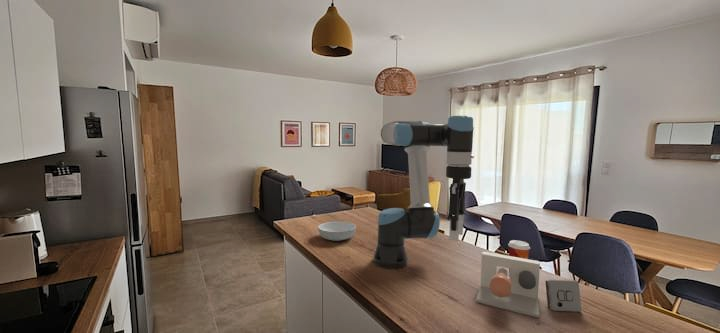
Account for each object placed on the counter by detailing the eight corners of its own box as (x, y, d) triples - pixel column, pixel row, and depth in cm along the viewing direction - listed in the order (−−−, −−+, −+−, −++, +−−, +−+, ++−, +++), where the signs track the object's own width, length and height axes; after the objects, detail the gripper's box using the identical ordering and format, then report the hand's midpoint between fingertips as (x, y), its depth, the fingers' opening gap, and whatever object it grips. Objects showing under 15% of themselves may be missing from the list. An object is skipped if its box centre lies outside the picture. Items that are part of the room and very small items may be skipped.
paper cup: (520, 283, 113) (522, 247, 112) (502, 275, 120) (503, 241, 119) (532, 279, 117) (534, 244, 116) (514, 271, 124) (516, 238, 122)
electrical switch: (551, 311, 95) (551, 282, 95) (542, 304, 100) (542, 276, 100) (582, 312, 94) (582, 283, 94) (571, 305, 99) (571, 277, 99)
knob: (489, 294, 96) (490, 276, 95) (493, 278, 107) (493, 262, 106) (510, 299, 93) (511, 281, 92) (511, 282, 104) (512, 266, 104)
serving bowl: (363, 236, 167) (363, 224, 166) (341, 247, 149) (341, 234, 149) (333, 230, 178) (333, 219, 177) (309, 240, 160) (309, 227, 160)
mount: (476, 301, 100) (478, 264, 99) (481, 284, 112) (483, 250, 111) (538, 317, 91) (541, 276, 90) (537, 297, 103) (539, 260, 102)
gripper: (466, 168, 83) (462, 248, 85) (475, 164, 100) (473, 231, 102) (439, 167, 87) (436, 243, 89) (453, 163, 104) (450, 227, 106)
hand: (456, 236), depth 96 cm, fingers open, 6 cm apart
